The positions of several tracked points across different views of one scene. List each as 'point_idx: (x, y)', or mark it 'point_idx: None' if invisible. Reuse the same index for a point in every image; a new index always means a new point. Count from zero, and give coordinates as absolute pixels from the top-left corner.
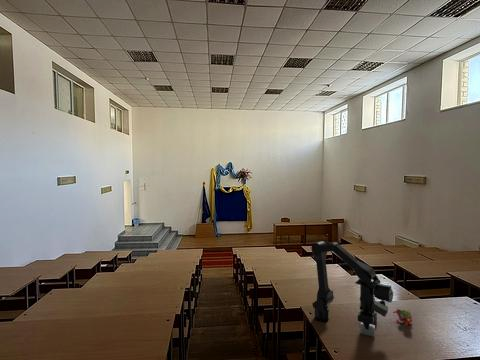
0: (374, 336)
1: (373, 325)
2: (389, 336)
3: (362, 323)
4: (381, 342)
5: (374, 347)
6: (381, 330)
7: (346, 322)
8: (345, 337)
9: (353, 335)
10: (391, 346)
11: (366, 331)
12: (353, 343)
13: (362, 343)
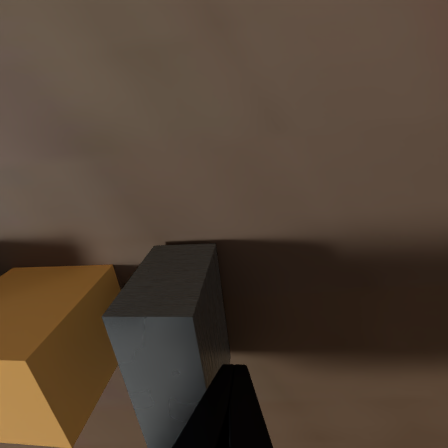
0: (215, 246)
1: (114, 332)
2: (72, 84)
3: (164, 437)
4: (282, 161)
5: (441, 222)
6: (14, 188)
7: (117, 431)
8: (355, 432)
9: (288, 390)
10: (322, 19)
11: (219, 341)
12: (434, 386)
13: (401, 327)
